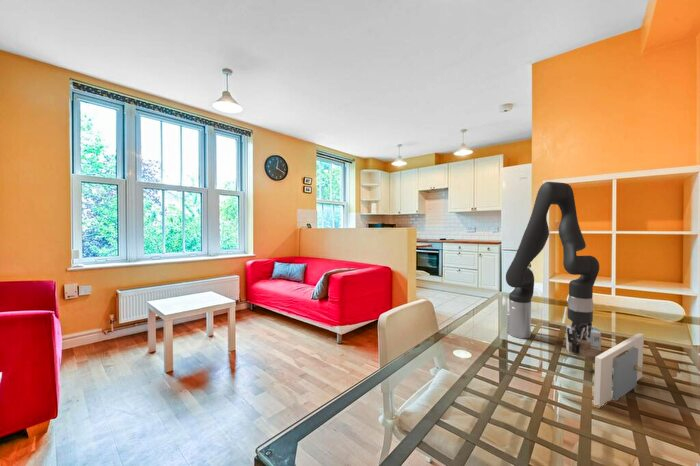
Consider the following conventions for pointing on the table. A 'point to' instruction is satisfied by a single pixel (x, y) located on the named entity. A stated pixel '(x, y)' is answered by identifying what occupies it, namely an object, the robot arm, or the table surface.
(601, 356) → the wall frame
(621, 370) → the door
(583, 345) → the block
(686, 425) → the table surface
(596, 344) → the light bulb box
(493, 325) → the table surface
